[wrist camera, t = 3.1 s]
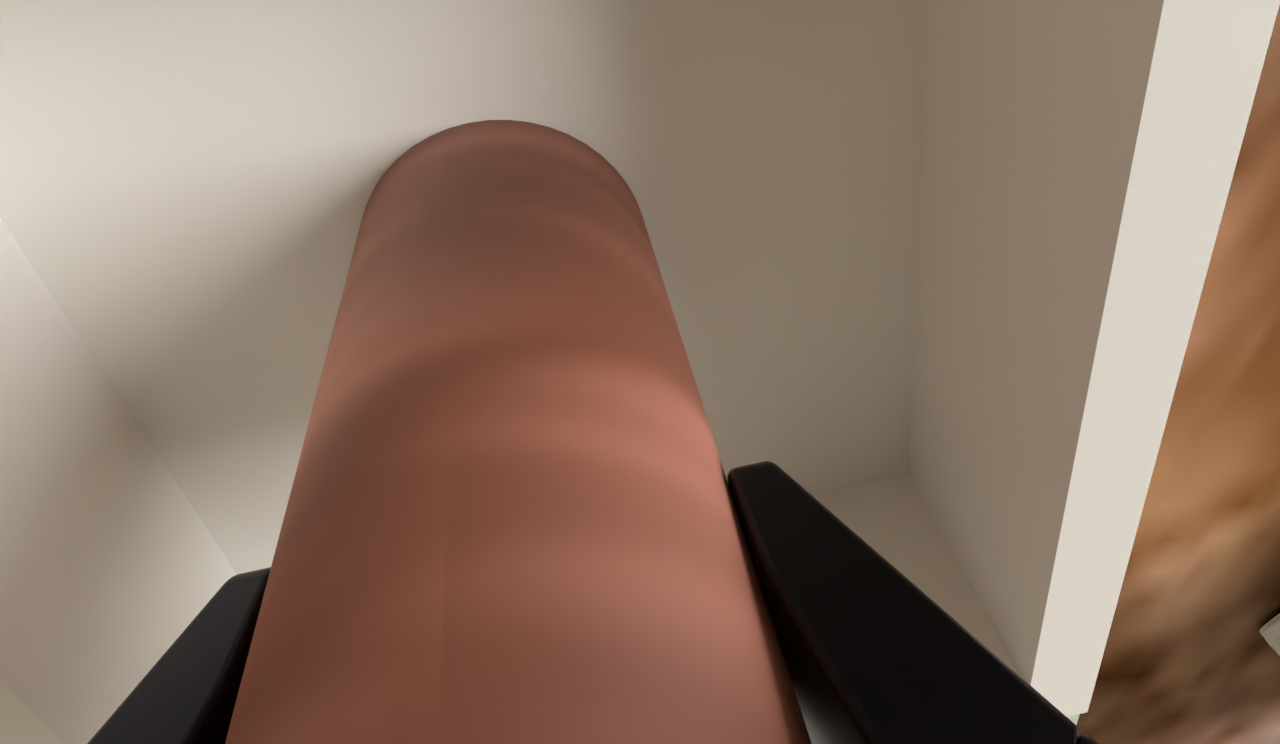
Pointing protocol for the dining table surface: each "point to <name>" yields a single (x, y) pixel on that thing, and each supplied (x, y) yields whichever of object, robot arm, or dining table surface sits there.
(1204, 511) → the dining table surface
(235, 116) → the square storage bin
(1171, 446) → the dining table surface
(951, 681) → the robot arm
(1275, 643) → the syrup box
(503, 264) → the dowel pin
